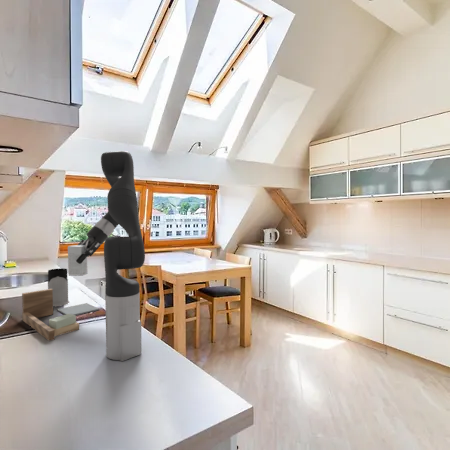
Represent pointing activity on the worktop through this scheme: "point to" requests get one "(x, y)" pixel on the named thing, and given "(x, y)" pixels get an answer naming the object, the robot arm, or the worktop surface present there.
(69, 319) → the offcut top
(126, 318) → the robot arm
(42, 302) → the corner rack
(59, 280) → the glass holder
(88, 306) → the rubber mat
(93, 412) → the worktop surface
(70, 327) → the offcut bottom
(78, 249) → the skincare box
